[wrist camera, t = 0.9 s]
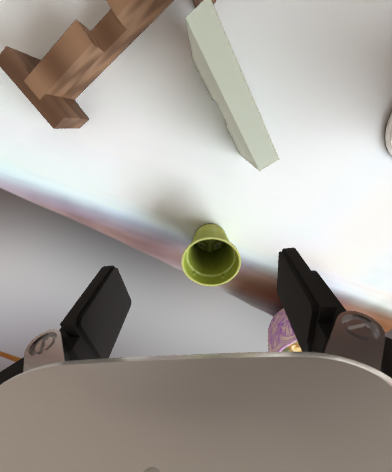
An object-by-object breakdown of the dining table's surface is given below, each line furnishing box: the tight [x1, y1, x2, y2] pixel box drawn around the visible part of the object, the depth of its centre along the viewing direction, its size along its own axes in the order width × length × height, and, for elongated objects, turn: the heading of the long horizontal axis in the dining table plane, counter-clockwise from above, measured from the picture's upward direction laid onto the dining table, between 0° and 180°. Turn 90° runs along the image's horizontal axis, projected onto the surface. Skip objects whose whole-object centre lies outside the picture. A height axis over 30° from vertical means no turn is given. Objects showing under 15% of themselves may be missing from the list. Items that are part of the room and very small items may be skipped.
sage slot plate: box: [186, 0, 279, 171], centre depth 24 cm, size 2×14×12 cm, turn 33°
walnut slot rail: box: [0, 0, 216, 129], centre depth 23 cm, size 24×8×6 cm, turn 123°
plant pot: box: [182, 224, 241, 286], centre depth 35 cm, size 9×9×9 cm
